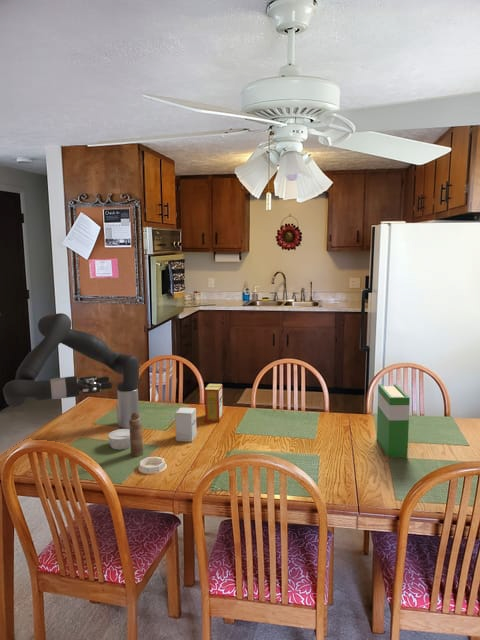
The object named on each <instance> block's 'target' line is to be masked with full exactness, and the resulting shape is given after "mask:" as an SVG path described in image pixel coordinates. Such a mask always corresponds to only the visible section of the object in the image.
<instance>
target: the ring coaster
mask: <svg viewBox="0 0 480 640" xmlns="http://www.w3.org/2000/svg"><path fill="white" fill-rule="evenodd" d="M167 467H168V465H167V463H166V462H165V458H164V457H159V456H150V457H149V456H148V457H145V458H143V459H141V460H140V461H139V466H138V471H139V472H140V473H142V474H149V475H150V474H151V475H153V474H158V473H161V472H163V471H165V470H166V469H167Z"/></svg>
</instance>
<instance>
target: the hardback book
mask: <svg viewBox="0 0 480 640" xmlns="http://www.w3.org/2000/svg"><path fill="white" fill-rule="evenodd" d="M410 400H411V399H410V396H409V395H408V394H407V393H406V392H405V391H403V389H402V388H401V387H400V386H399V385H398V384H396V383H394V384H393V385H387V386H386V385H385V386H383V385H382V384H377V414H376V415H377V417H376V419H377V420H376V440H377V442H378V445H380V447H381V449H382V450H383V451H384V454H385V455H386V456H387V458H408V455H409V454H408V453H409V451H408V450H409V449H408V448H409V428H410V427H409V426H410Z"/></svg>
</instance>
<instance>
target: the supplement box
mask: <svg viewBox="0 0 480 640" xmlns="http://www.w3.org/2000/svg"><path fill="white" fill-rule="evenodd" d="M174 418H175V422H174V424H175V441H176V442H189V443H191V442H192V443H193V441H194V439H195V438H196V437H197V434H198V433H197V409H196V407H179V408H178V409H177V410H176V411H175V413H174Z"/></svg>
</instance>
